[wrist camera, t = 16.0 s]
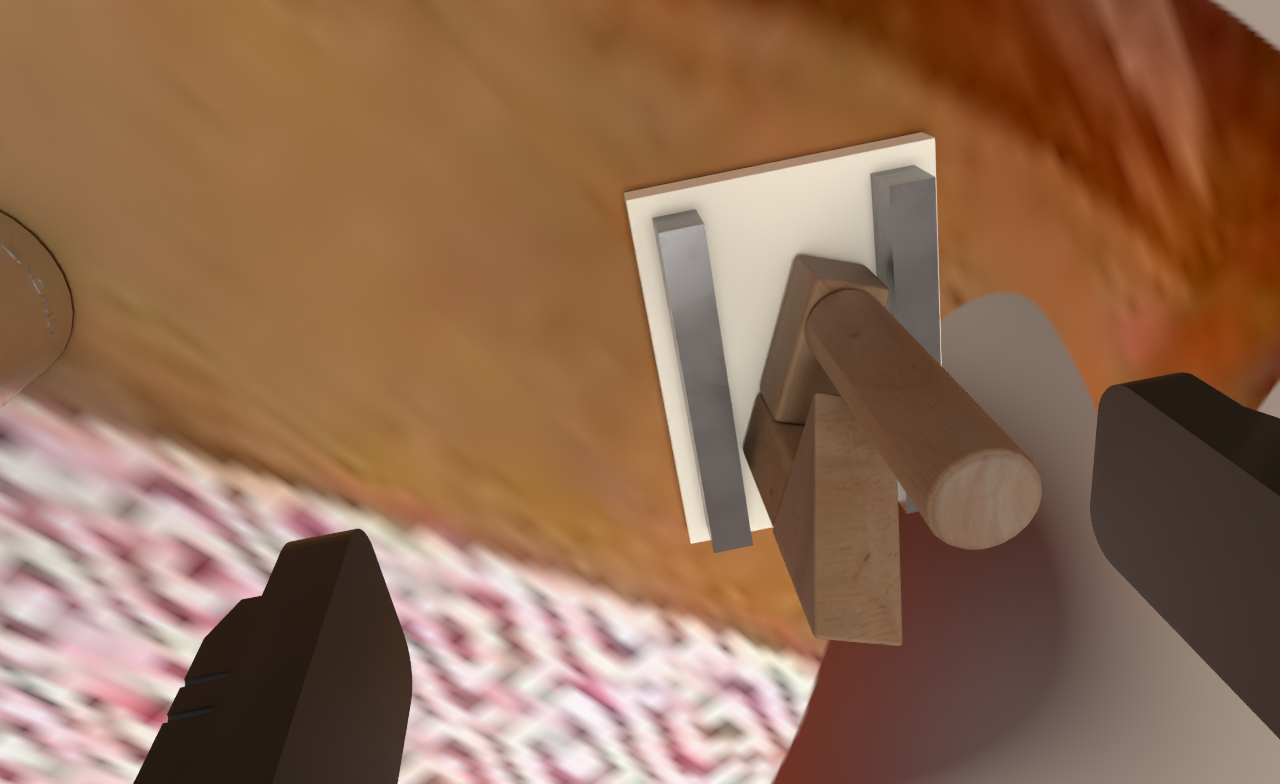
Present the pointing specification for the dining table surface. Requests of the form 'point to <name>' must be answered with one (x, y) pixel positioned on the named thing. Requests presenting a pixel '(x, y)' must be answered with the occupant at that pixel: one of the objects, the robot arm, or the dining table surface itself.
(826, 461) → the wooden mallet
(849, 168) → the slotted base
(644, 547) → the dining table surface
